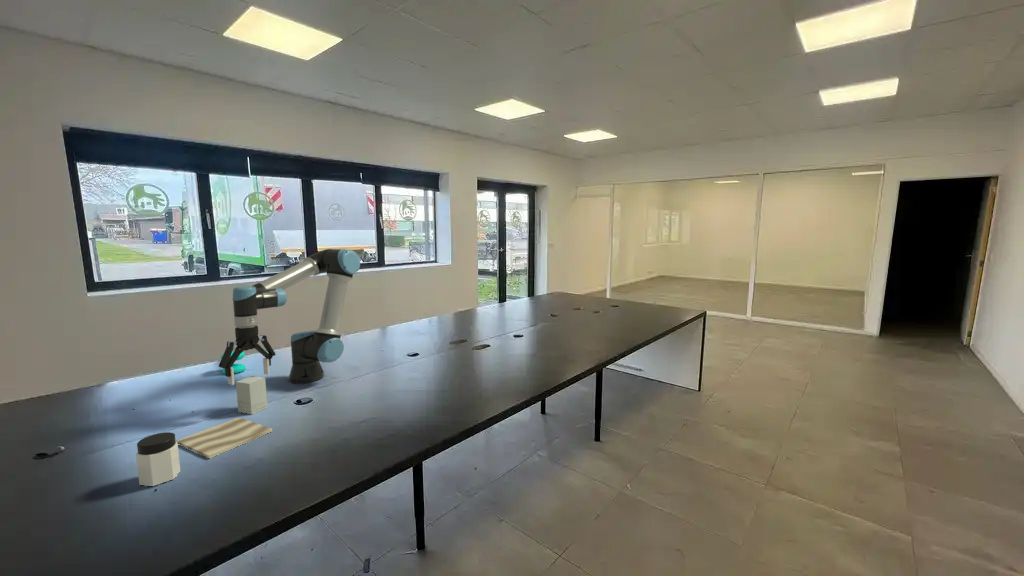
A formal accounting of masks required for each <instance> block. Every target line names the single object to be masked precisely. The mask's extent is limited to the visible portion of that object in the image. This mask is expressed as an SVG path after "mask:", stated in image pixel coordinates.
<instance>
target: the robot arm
mask: <svg viewBox="0 0 1024 576" xmlns="http://www.w3.org/2000/svg"><path fill="white" fill-rule="evenodd" d="M360 267H361V260H360V257H359V256H358V254H357V253H356V252H355V251H354V250H352V249H347V248H346V249H345V248H342V249H341V248H327V249H323V250H319V251H317V252H316V253H313V254H311V255H309V256H306V257H305V258H304V259H303V261H302V262H299V263H297V264H295V265H293V266H291V267H288V268H286V269H285V270H283V271H280V272H278V273H276V274H274V275H272V276H270V277H268V278H266V279H264V280H262V281H260V282H258V283H255V284H252V285H251V286H250V285H247V286H246V285H242V286H235V287H234V288H233V289H232V301H233V303H232V304H233V313H234V314H233V318H234V319H233V320H234V321H233V322H234V327H235V328H234V335H235V341H227V342H226V348H225V350H224V353H223V354H222V355H223V357H222V359H221V358H220V361H219V364H218V367H219V368H221V369H223V368H225V374H224V375H225V377H227V384H228V385H230V386H233V385H235V374H234V370H233V368H232V365H233V364H235V362H237V361H236V359H237V358H238V357H239V355H240V354H241V353H242V352H244V351H248V350H256V351H258V352H259V354H260V355H262V356H263V357H264V358H262V363H263V364H262V365H263V374H264V375H267V376H269V375H270V374H271V371H270V366H272V359H273V357H275V356H276V352H275V350H274V349H273V347H272V346H271V344H270V343H269V340H268V337H267V335H264V334H260V336H259V327H258V310H263V309H269V308H278V307H283V306H285V305H286V303H287V301H288V295H287V293H286V291H285V290H286V289H288V288H290V287H291V286H294V285H296V284H298V283H300V282H301V281H304V280H306V279H307V278H310V277H311V276H313V277H315V276H319V275H320V274H326V276H327V278H328V283H327V287H326V291H325V295H324V296H325V297H324V302H323V306H322V311H321V316H320V321H319V327H318V328H317V329H315V330H314V329H313V330H305V331H300V332H299V331H298V332H295V333H293V334H292V335H291V337H290V349H291V350H290V351H291V363H292V364H291V368H290V373H289V375H288V380H289V382H290V383H293V384H308V383H312V382H317V381H319V380H321V379H323V378H324V377H325V374H324V373H325V372H324V369H323V367H322V364H321V362H322V363H334V362H335V361H337V360H338V359H340V357H341V356H342V354H343V352H344V349H345V344H344V343H343V340H342V339H341V336H342V334H341V332H340V331H339V329H340V324H341V319H342V314H343V310H344V304H345V299H346V295H347V294H346V293H347V289H348V284H349V282H350V281H351V280H353V278H354V277H353V276H354V274H356V273H357V272H359V271H360ZM259 341H260V342H261V344H262V345H263V347H264V348H263V347H262V346H261V345H260V344H259ZM232 351H234V352H233V354H232V355H231V353H232ZM230 356H231V357H230ZM323 376H324V377H323Z"/></svg>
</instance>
